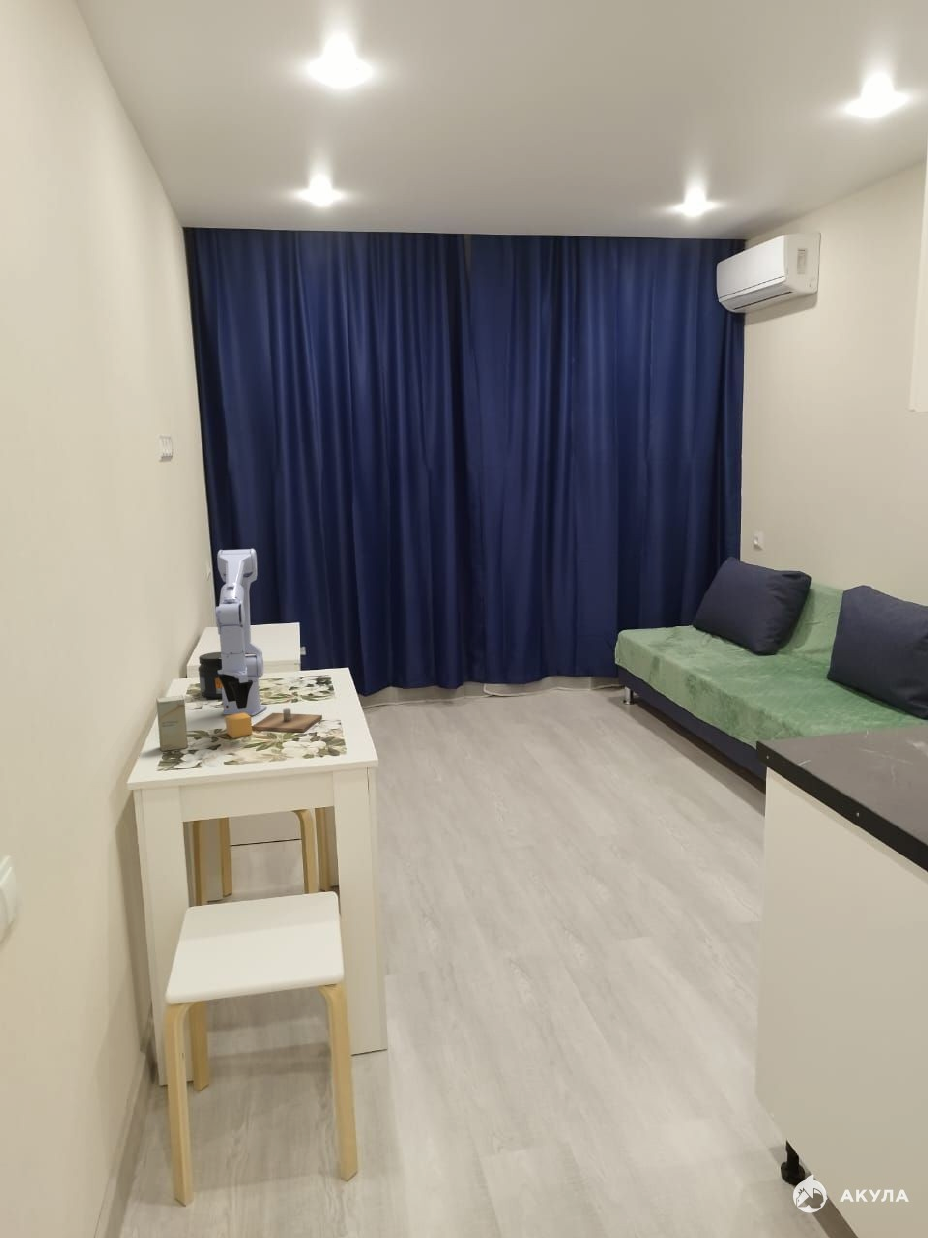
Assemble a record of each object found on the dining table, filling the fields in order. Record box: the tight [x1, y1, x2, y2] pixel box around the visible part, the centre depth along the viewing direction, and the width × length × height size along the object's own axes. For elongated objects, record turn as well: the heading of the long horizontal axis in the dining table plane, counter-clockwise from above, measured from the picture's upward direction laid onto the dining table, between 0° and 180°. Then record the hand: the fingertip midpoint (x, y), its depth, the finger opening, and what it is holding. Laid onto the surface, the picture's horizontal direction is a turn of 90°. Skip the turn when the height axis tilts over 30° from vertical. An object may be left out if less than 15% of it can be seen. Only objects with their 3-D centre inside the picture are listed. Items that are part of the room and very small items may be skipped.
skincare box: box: [155, 694, 189, 752], centre depth 215 cm, size 6×4×12 cm
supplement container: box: [198, 651, 223, 700], centre depth 260 cm, size 10×10×12 cm
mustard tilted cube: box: [224, 712, 253, 739], centre depth 224 cm, size 5×5×4 cm
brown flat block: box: [252, 708, 323, 734], centre depth 231 cm, size 14×12×4 cm
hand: (237, 704), depth 223 cm, fingers open, 7 cm apart
